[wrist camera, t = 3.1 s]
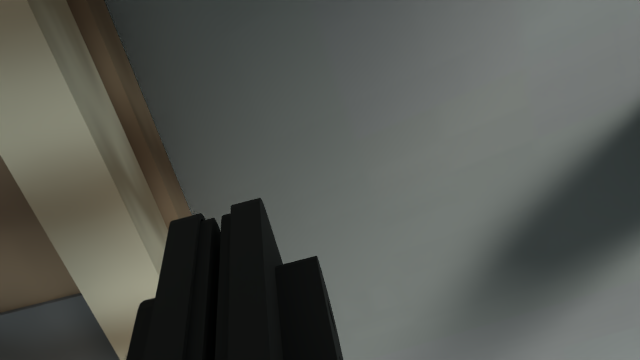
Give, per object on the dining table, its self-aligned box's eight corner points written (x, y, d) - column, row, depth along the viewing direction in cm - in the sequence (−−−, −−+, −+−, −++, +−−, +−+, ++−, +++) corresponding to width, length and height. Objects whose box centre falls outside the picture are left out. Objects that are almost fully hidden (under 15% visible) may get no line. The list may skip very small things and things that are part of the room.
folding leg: (215, 331, 27) (211, 381, 24) (150, 347, 27) (140, 398, 24) (53, -36, 18) (21, -19, 16) (-42, -12, 18) (-89, 9, 16)
